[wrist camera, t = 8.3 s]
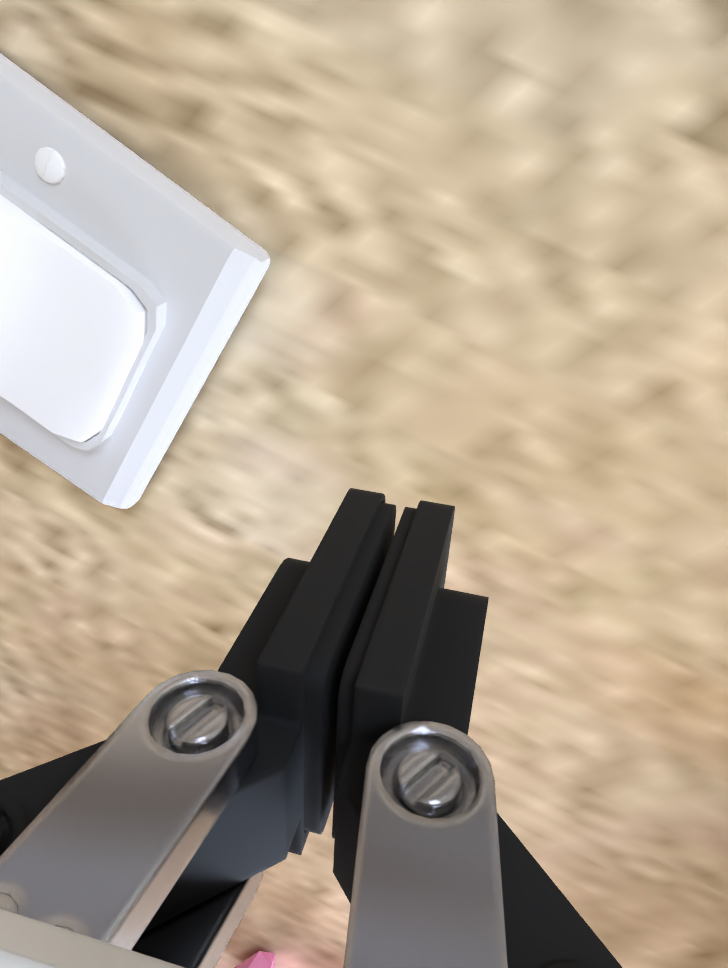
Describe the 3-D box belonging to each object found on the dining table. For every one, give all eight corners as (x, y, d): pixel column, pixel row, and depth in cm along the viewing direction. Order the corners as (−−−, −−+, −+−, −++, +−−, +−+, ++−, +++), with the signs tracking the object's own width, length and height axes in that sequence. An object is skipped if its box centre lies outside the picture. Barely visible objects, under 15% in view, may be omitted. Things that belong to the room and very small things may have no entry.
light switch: (-238, -57, 16) (224, 283, 17) (-92, -28, 20) (283, 252, 21) (-268, 318, 22) (80, 556, 23) (-150, 288, 25) (146, 495, 26)
